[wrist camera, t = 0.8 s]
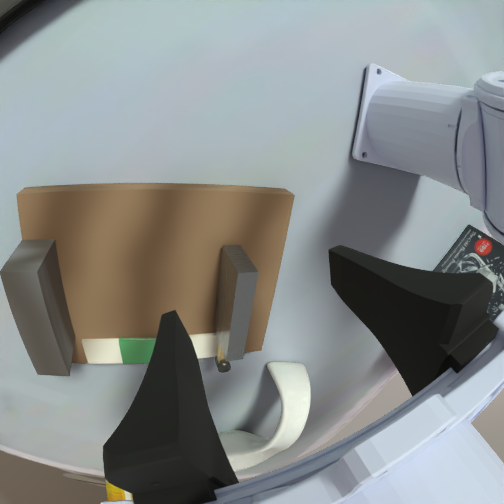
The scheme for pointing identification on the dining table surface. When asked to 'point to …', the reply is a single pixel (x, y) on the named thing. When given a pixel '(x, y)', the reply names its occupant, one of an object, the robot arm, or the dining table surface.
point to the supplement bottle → (117, 493)
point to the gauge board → (135, 266)
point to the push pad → (233, 304)
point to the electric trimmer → (15, 10)
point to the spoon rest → (290, 425)
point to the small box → (478, 263)
